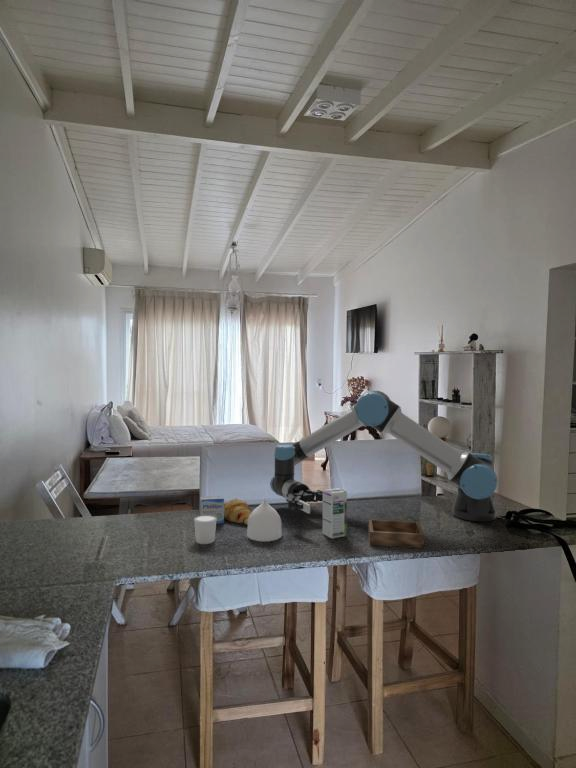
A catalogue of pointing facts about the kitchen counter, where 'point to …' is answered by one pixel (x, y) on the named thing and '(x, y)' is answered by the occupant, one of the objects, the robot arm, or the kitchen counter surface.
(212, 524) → the shot glass
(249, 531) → the teardrop
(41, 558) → the kitchen counter surface
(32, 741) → the kitchen counter surface
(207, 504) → the medicine box
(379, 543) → the serving tray
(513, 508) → the kitchen counter surface
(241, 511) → the croissant
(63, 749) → the kitchen counter surface
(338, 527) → the syrup box
